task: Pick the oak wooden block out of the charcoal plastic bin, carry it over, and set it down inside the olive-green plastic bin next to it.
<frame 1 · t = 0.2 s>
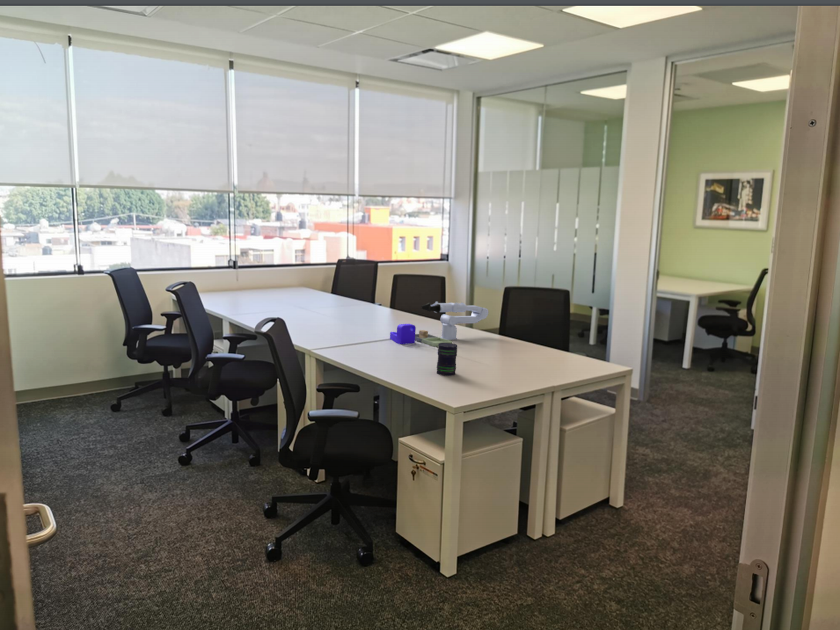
hand: (425, 308, 395), 21 cm above the table, tool horizontal, fingers open, 7 cm apart
charcoal bin: (423, 339, 402), on the table
bracket: (399, 341, 394), on the table
storage jar: (445, 373, 319), on the table
olive bin: (436, 344, 391), on the table
oak block: (423, 338, 402), point 1 cm above the table, touching charcoal bin
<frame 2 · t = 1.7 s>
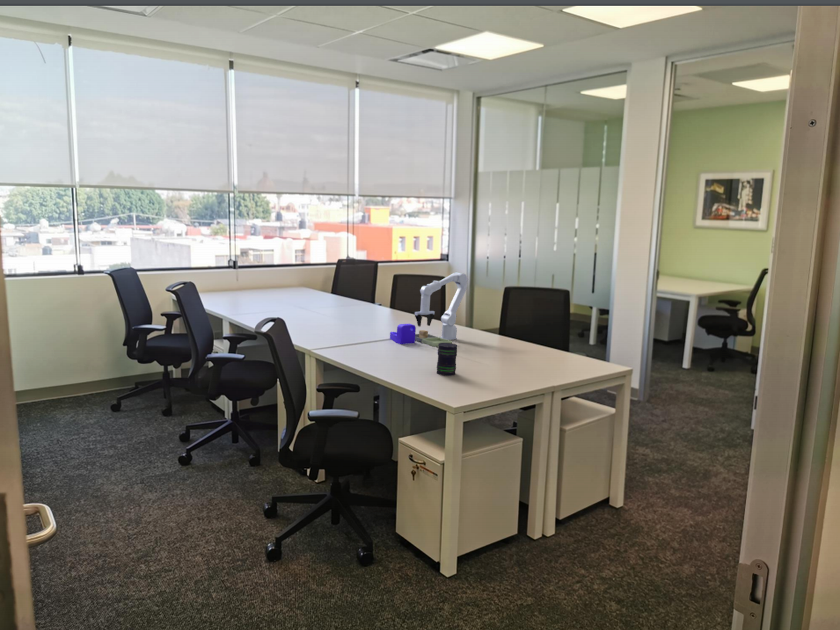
hand: (423, 325, 401), 9 cm above the table, tool pointing down, fingers open, 7 cm apart
nothing on the table moved.
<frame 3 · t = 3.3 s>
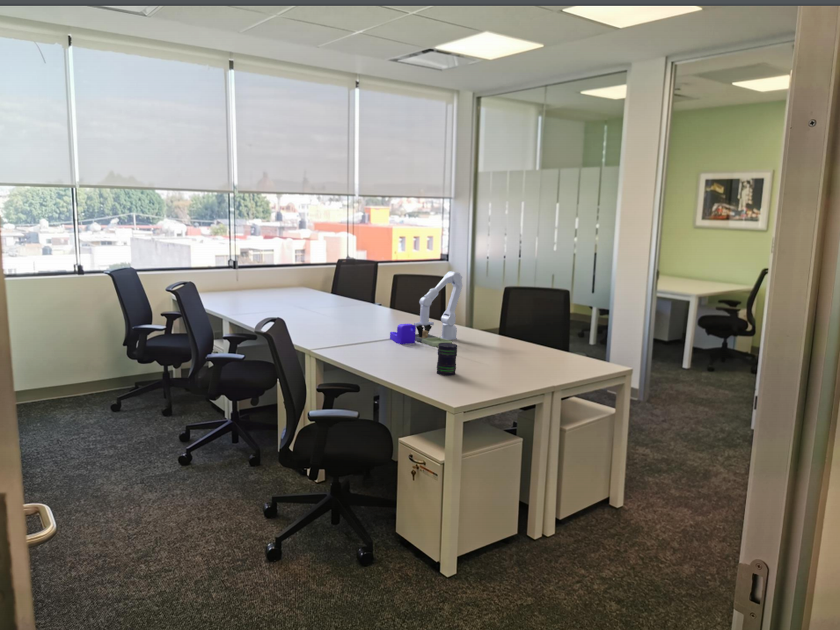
hand: (423, 336, 402), 2 cm above the table, tool pointing down, fingers closed on oak block, 4 cm apart
oak block: (423, 338, 402), point 1 cm above the table, touching charcoal bin, gripper
everything else where it was.
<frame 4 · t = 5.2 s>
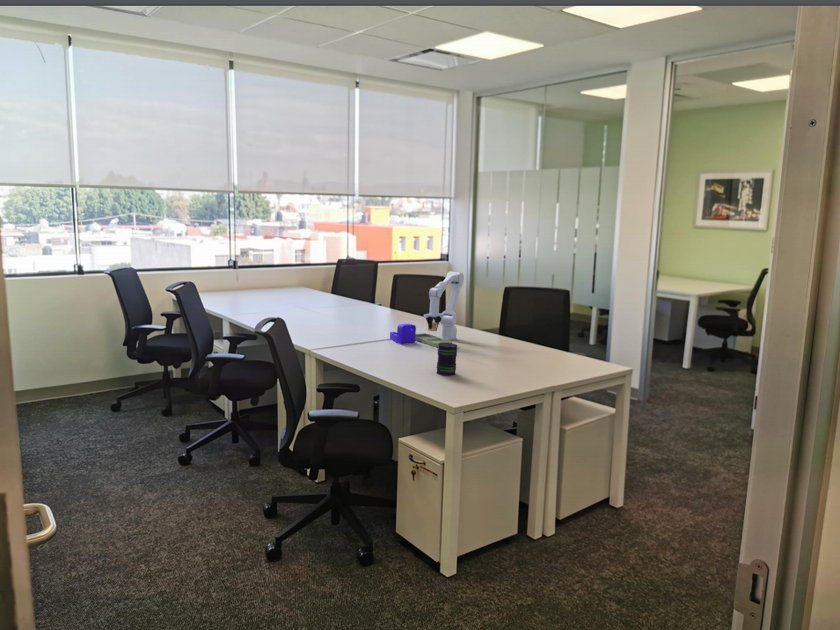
hand: (433, 328, 393), 9 cm above the table, tool pointing down, fingers closed on oak block, 4 cm apart
oak block: (432, 330, 394), point 8 cm above the table, touching gripper
everything else where it was.
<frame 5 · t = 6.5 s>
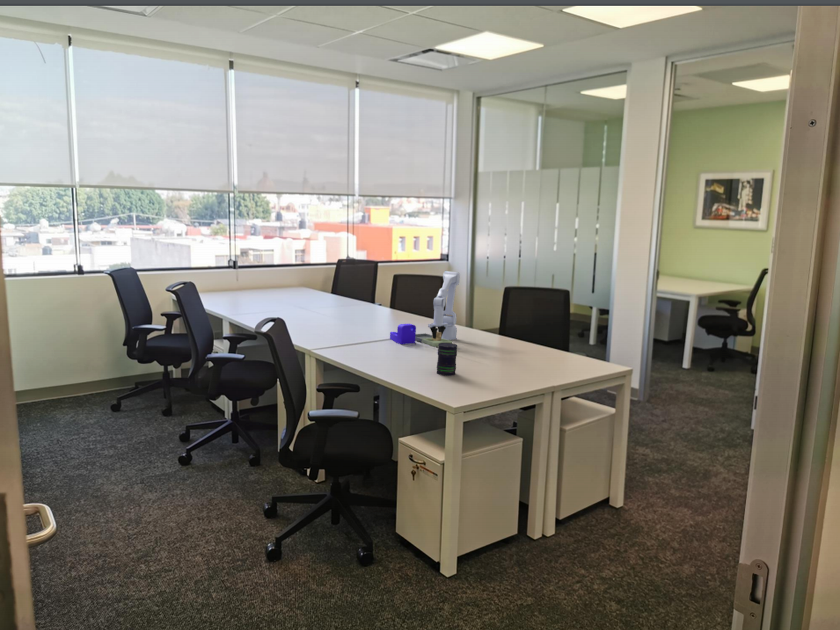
hand: (437, 338, 391), 4 cm above the table, tool pointing down, fingers closed on oak block, 4 cm apart
oak block: (436, 340, 391), point 2 cm above the table, touching gripper
everything else where it was.
when the fingers open (3 cm above the table, at t = 7.4 s): oak block drops 1 cm, resting on olive bin.
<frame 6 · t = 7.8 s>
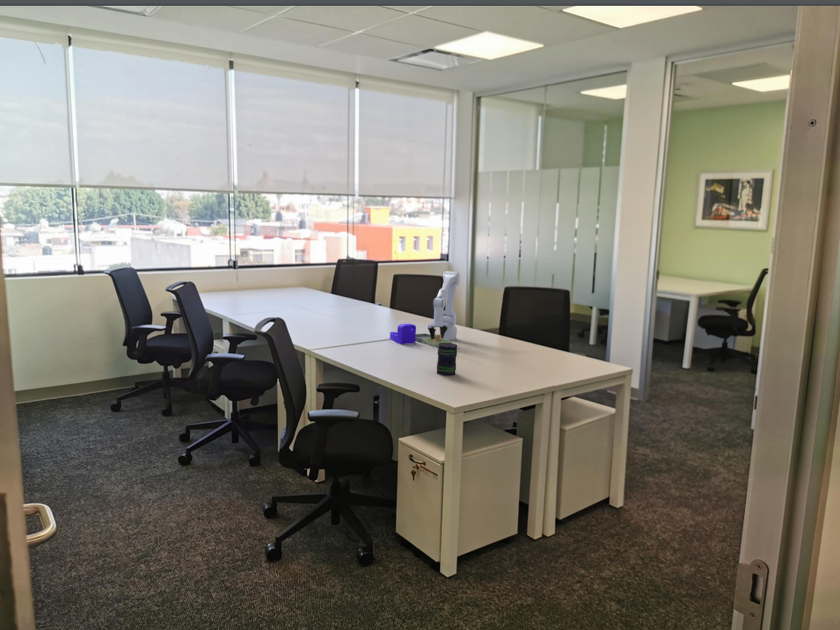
hand: (437, 338, 391), 3 cm above the table, tool pointing down, fingers open, 7 cm apart
oak block: (436, 342, 391), point 1 cm above the table, touching olive bin
everything else where it was.
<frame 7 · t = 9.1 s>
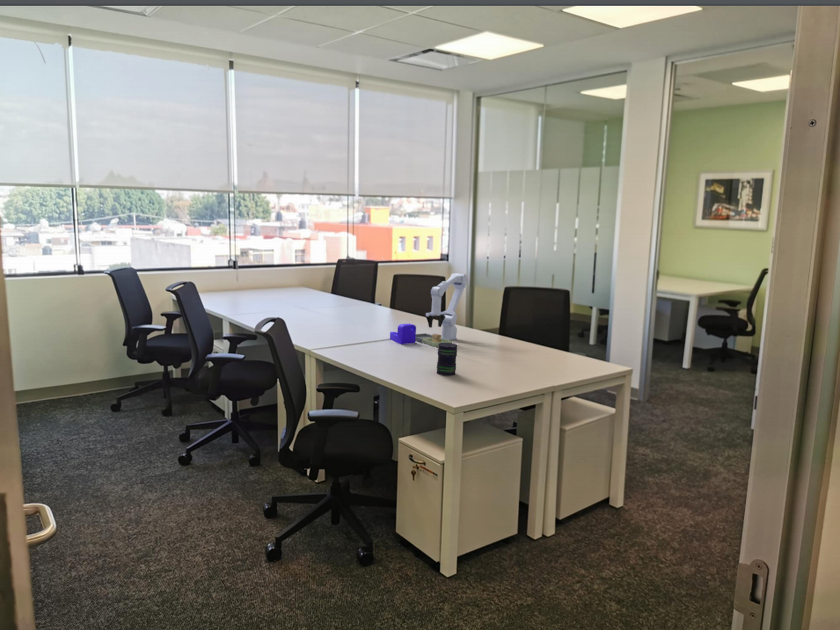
hand: (434, 327, 397), 9 cm above the table, tool pointing down, fingers open, 7 cm apart
nothing on the table moved.
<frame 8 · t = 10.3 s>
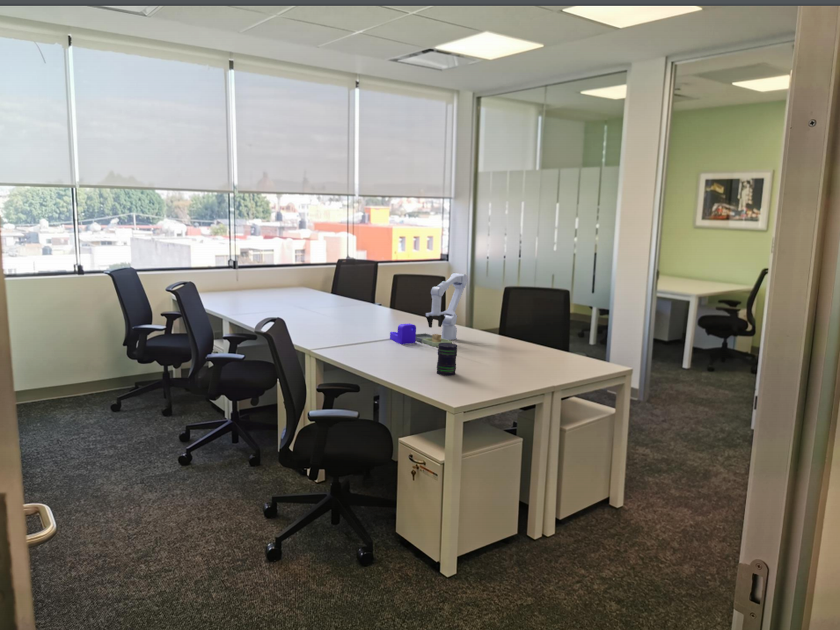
hand: (434, 327, 397), 9 cm above the table, tool pointing down, fingers open, 7 cm apart
nothing on the table moved.
at the end: oak block inside the target area on the olive bin (0.4 cm from its centre), point 0.8 cm above the olive bin's base; the gripper is holding nothing; oak block tilted 0° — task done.
